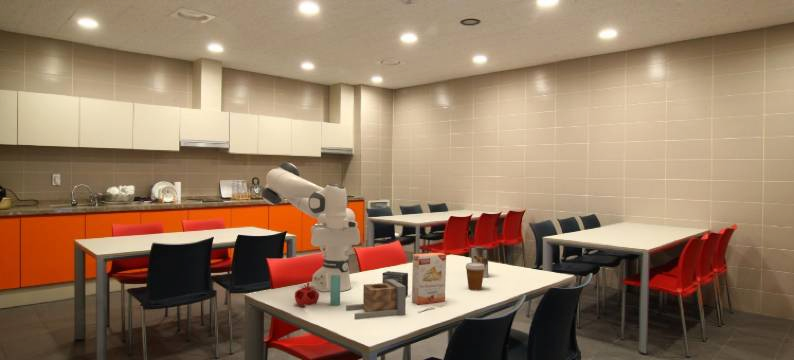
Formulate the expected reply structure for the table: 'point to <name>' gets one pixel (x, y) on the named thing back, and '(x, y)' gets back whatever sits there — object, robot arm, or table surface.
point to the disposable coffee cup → (475, 275)
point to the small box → (397, 278)
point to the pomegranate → (306, 296)
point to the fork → (433, 308)
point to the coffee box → (480, 257)
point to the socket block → (379, 297)
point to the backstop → (398, 311)
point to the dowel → (335, 290)
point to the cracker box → (428, 278)
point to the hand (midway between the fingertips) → (335, 256)
